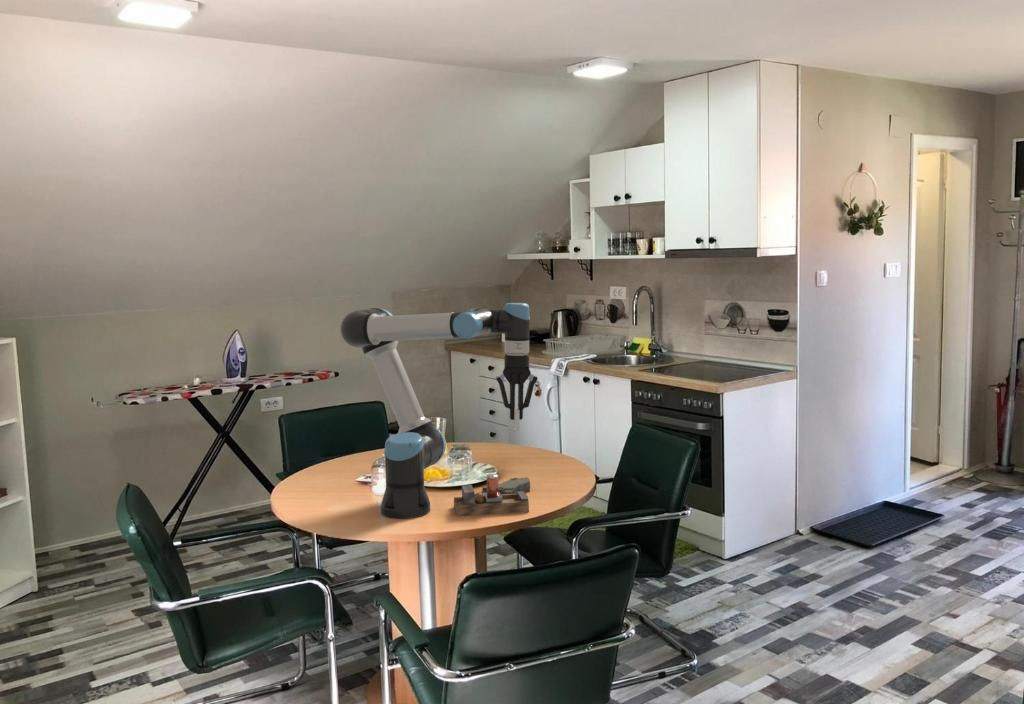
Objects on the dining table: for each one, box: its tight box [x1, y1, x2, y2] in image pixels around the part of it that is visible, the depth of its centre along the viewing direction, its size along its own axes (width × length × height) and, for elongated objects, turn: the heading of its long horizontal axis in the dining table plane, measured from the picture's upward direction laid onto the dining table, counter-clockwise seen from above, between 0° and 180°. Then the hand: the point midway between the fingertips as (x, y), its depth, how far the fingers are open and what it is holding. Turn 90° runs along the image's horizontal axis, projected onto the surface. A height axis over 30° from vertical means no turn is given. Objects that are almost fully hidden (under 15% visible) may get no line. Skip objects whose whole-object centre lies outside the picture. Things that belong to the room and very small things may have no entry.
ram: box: [482, 473, 503, 503], centre depth 258 cm, size 5×7×8 cm
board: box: [453, 484, 530, 517], centre depth 259 cm, size 22×10×7 cm, turn 99°
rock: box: [482, 477, 531, 495], centre depth 277 cm, size 12×16×5 cm
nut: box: [475, 491, 485, 504], centre depth 258 cm, size 4×4×4 cm
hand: (516, 429), depth 258 cm, fingers closed
